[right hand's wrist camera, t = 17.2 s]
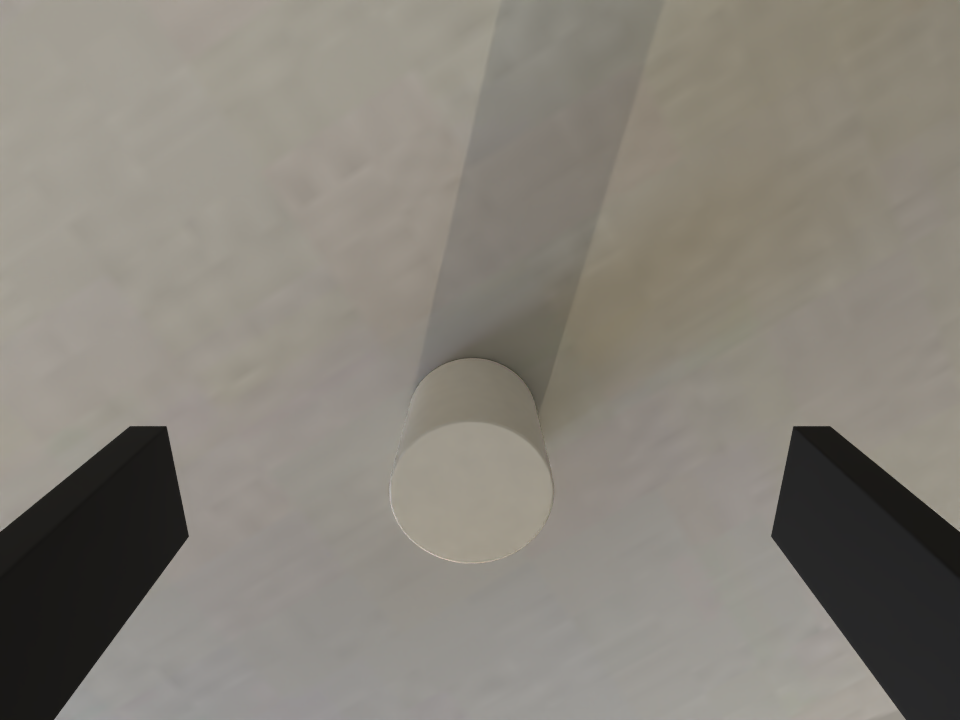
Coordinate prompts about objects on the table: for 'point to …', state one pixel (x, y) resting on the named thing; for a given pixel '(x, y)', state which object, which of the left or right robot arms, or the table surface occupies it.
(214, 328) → the table surface
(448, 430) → the can
